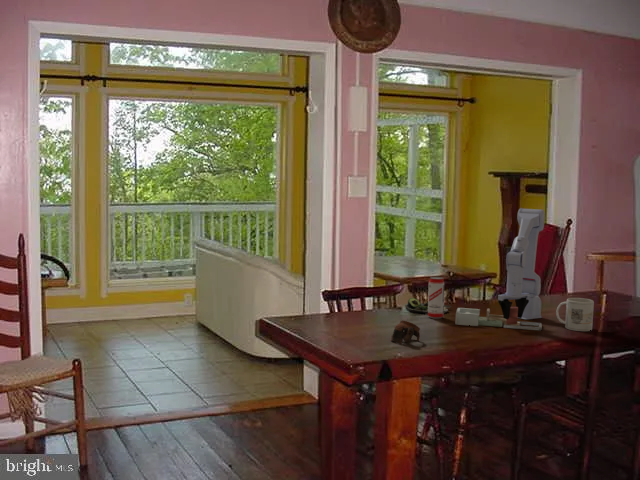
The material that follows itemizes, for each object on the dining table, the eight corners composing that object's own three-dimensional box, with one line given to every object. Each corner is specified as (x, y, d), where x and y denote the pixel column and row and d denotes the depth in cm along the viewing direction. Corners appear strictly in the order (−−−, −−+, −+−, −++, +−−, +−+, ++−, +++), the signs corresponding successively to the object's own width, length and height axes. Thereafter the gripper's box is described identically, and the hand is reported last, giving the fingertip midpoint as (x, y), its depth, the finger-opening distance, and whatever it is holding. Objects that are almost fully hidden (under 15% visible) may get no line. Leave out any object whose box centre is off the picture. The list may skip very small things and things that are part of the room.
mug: (577, 332, 286) (579, 303, 285) (553, 325, 296) (555, 297, 295) (597, 330, 291) (599, 301, 290) (573, 323, 301) (575, 296, 300)
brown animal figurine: (385, 340, 267) (394, 319, 269) (408, 352, 268) (417, 330, 270) (396, 339, 256) (406, 317, 258) (421, 351, 257) (430, 329, 259)
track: (541, 325, 296) (541, 320, 296) (541, 330, 287) (542, 325, 287) (477, 320, 302) (478, 315, 302) (476, 325, 293) (476, 320, 293)
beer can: (442, 319, 303) (443, 279, 301) (426, 318, 304) (427, 278, 303) (444, 316, 309) (445, 277, 307) (428, 315, 310) (429, 276, 309)
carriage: (519, 324, 297) (520, 306, 296) (519, 327, 291) (520, 309, 290) (486, 321, 300) (487, 304, 299) (486, 324, 294) (486, 307, 293)
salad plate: (445, 306, 333) (445, 296, 332) (457, 315, 315) (458, 303, 315) (401, 306, 330) (401, 296, 330) (411, 315, 312) (412, 303, 312)
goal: (479, 320, 303) (479, 309, 302) (477, 326, 292) (478, 314, 292) (457, 318, 305) (457, 307, 305) (455, 324, 294) (455, 312, 294)
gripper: (520, 280, 300) (518, 314, 301) (493, 282, 292) (491, 317, 294) (534, 283, 294) (532, 318, 295) (506, 285, 286) (504, 320, 288)
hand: (512, 318), depth 294 cm, fingers open, 6 cm apart
